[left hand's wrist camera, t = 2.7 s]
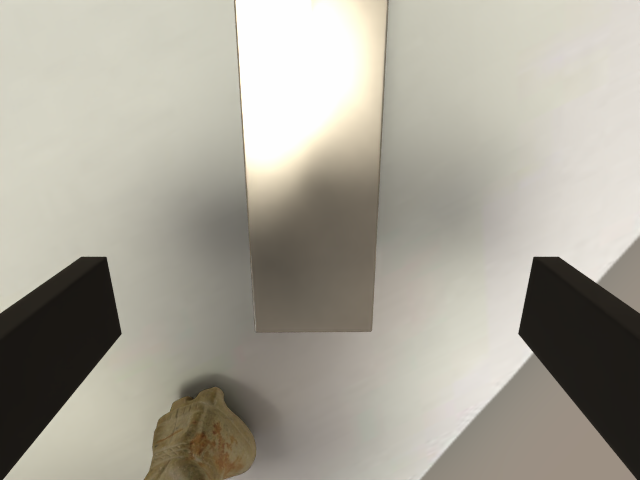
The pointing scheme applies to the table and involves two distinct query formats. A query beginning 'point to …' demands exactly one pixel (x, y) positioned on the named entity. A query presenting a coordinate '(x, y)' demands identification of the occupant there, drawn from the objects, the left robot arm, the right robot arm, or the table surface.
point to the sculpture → (201, 441)
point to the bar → (312, 158)
